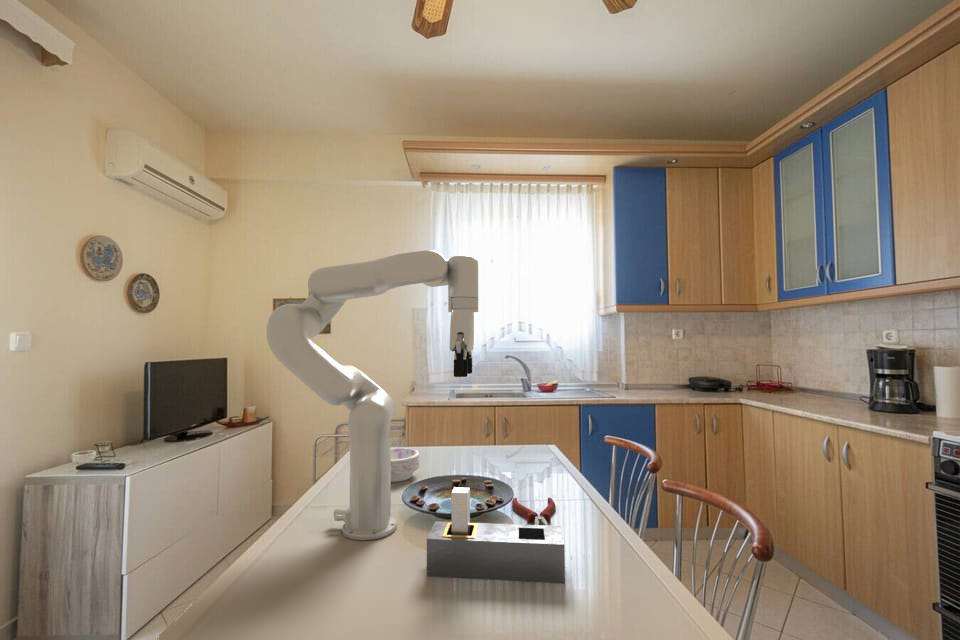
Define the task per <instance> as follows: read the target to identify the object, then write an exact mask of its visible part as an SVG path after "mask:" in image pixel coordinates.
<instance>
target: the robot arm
mask: <svg viewBox="0 0 960 640" xmlns="http://www.w3.org/2000/svg"><path fill="white" fill-rule="evenodd" d="M416 284H423V285H425V286H427V287H431V288H433V287H434V288H437V287H443V286H447V300H448V301H447V311H448V313H451V314H450V323H449V324H450V326H449V328H450V329H449V351H450V352H454V354H453V359H454V360H453V377H454V378H467V377H468V375H471V374H473V355H472V350H474V345H475V344H474V342H475V341H474V340H475V314H474V313H478V312H479V261H478V259H477V258H476V257H475V256H473V255H467V254H465V255H464V254H459V255H452V256H451V257H450V258H449V259H447V258H446V257H445V256H444V255H443V254H442V253H441V252H439V251H436V250H431V249H430V250H418V251H411V252H403V253H398V254H393V255H389V256H386V257H381V258H377V259H375V260H374V259H373V260H370V261H369V260H368V261H363V262H361V261H360V262H355V263H354V262H353V263H347V264H341V265H340V264H339V265H330V266H324V267H321V268H317V269H315V270H314V271H312V273H311V274H309V276H308V280H307V287H308V291H309V293H310V294H309V295H308V296H307V298H306V299H304V300H303V302H302V303H301V304H298V303H286V304H283V305H280V306H278V307H276V309H274V310H273V311H272V312H271V314H270V316H269V317H268V320H267V323H266V340H267V341H266V342H267V344H268V347H269V349H270V351H271V353H272V354H273V356H274V357H275V358H276V359H277V361H279V363H281V365H282V366H284V367H285V368H286V369H287V370H289V372H291V373H292V374H293V375H294V376H296V377H297V378H298V379H299V380H300V381H301V383H303V385H305V386H306V387H307V388H309V389H310V390H311V391H313V393H315V394H316V396H318V397H319V398H320V399H321V400H322V401H324V402H325V403H326V404H328V405H331V406H336V407H337V406H342V405H343V406H344V407H345V408H346V409H348V410H349V413H348V420H347V423H348V424H347V426H348V427H347V428H348V437H349V438H348V439H349V507H347V509H344V508H334V511H333V518H334V521H335V522H339V521H340V522H342V521H343V522H344V523H343V525H342V529H341V530H342V534H343V536H345V538H348V539H350V540H355V541H371V540H377V539H380V538H385V537H387V536H389V535H391V534H392V533H394V532H395V530H396V529H397V527H398V520H397V519H396V517H394V516H393V515H391V509H392V507H391V505H392V504H391V500H392V499H391V495H392V494H391V493H392V492H391V483H392V482H391V449H392V447H391V443H392V442H391V421H392V420H393V418H394V416H395V412H396V406H395V403H394V401H393V399H392V397H391V396H390V395H389V394H388V393H387V392H386V391H385V390H384V389H383V388H381V386H379V385H378V384H377V383H375V382H374V381H373V380H372V379H371V378H369V376H368V375H366V374H365V373H364V372H363V371H362V370H360V369H359V368H357V367H355V366H353V365H351V364H345V363H344V364H340V363H338V362H337V361H336V360H334V358H332V357H331V356H330V355H329V354H328V353H326V352H325V350H323V349H322V348H321V347H319V346H318V345H317V344H315V343H314V342H313V341H312V340H311V339H313V338H314V337H316V336H317V335H319V334H320V333H321V332H322V331H323V330H324V329H325V328H326V326H328V324H329V323H330V322H331V320H333V318H334V317H335V316H336V315H337V313H338V312H339V311H340V310H341V308H343V306H344V305H345V304H346V302H347V301H348V300H352V299H353V300H355V299H361V298H367V297H375V296H380V295H383V294H385V293H386V292H388V291H390V290H393V289H395V288H399V287H403V286H409V285H416Z"/></svg>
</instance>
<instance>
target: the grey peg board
mask: <svg viewBox="0 0 960 640" xmlns="http://www.w3.org/2000/svg"><path fill="white" fill-rule="evenodd" d="M427 535H428V536H427V538H426V577H435V578H449V579H450V578H454V579H455V578H456V579H469V580H470V579H473V580H474V579H475V580H490V581H491V580H494V581H495V580H496V581H509V582H510V581H511V582H513V581H514V582H530V583H531V582H535V583H553V584H565V583H566V566H565V565H566V563H565V562H566V561H565V560H566V559H565V558H566V556H565V555H566V554H565V553H566V551H565V550H566V549H565V548H566V547H565V540H564V535H563V530H562V526H561V525H548V526H547V525H535V524H517V523H492V522H490V523H489V522H470V536H460V535H452V521H439V520H438V521H436V520H435V521H434V523H433V524H432V528H431V529H430V531H429V533H428V534H427Z"/></svg>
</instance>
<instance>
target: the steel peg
mask: <svg viewBox="0 0 960 640" xmlns="http://www.w3.org/2000/svg"><path fill="white" fill-rule="evenodd" d="M470 494H471V488H470V487H460V486H459V487H458V486H457V487H456V486H453V489H452V490H451V522H452V535H460V536H470V523H471V495H470Z"/></svg>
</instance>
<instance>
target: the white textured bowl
mask: <svg viewBox="0 0 960 640" xmlns="http://www.w3.org/2000/svg"><path fill="white" fill-rule="evenodd" d="M420 465H421V464H420V452H419V450H417V449H414V448H410V447H409V448H406V447H397V448H396V447H394V448H391V483H398V482H404V481H407V480H409V479H411V478H412V476H413V474H414V473H415V472H416V471H417V470H419V468H420Z"/></svg>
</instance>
